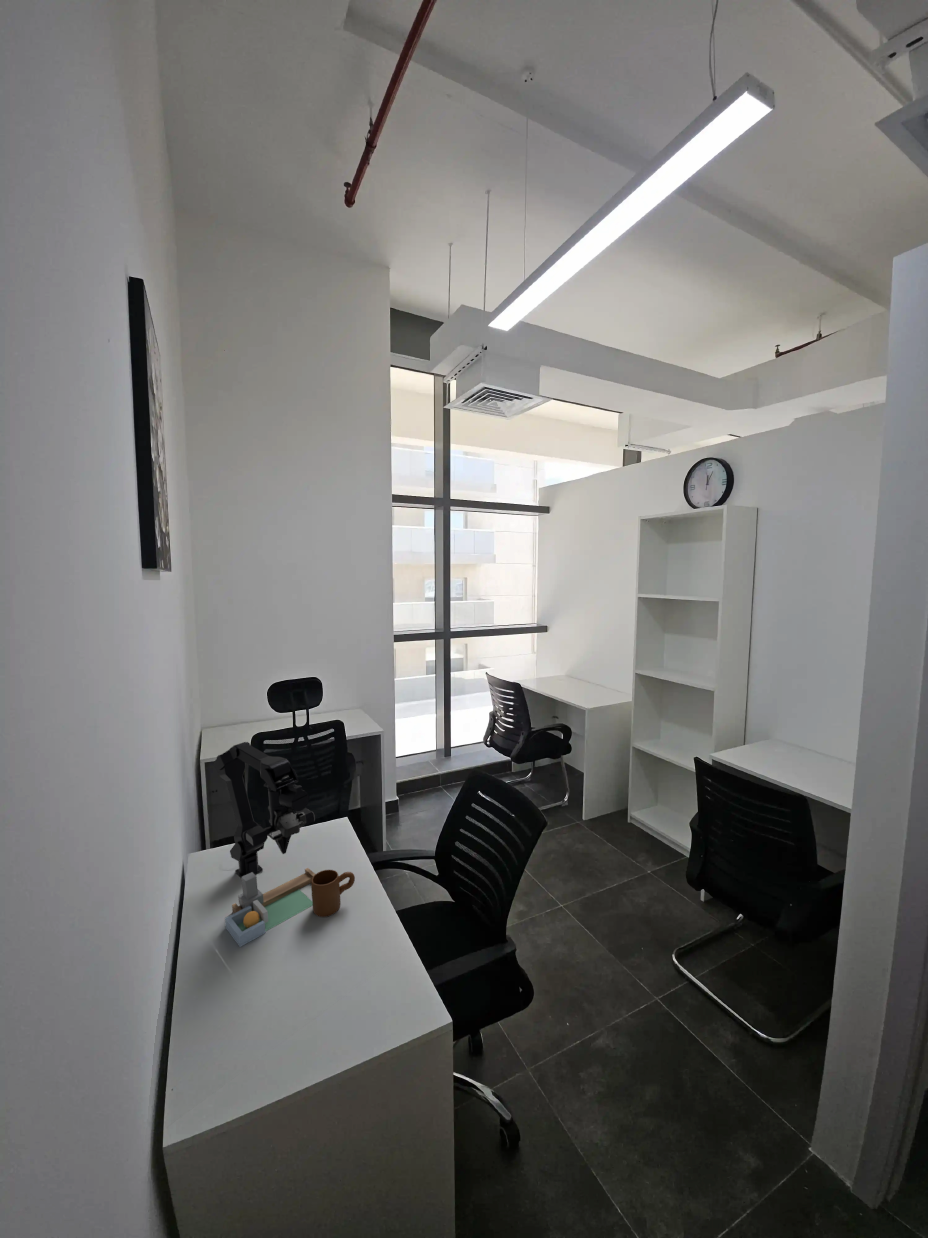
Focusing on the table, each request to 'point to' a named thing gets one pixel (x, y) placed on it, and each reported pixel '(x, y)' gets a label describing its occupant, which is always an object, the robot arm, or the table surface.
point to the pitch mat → (284, 909)
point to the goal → (247, 934)
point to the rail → (283, 889)
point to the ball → (251, 919)
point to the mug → (328, 891)
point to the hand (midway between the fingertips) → (283, 853)
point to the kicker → (252, 896)
